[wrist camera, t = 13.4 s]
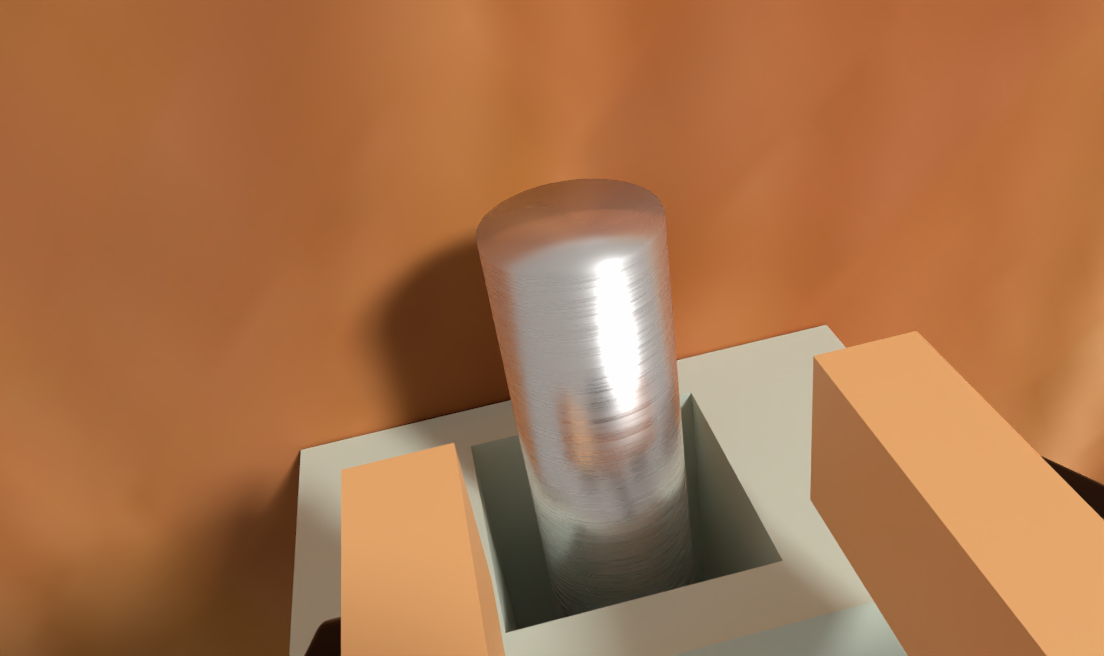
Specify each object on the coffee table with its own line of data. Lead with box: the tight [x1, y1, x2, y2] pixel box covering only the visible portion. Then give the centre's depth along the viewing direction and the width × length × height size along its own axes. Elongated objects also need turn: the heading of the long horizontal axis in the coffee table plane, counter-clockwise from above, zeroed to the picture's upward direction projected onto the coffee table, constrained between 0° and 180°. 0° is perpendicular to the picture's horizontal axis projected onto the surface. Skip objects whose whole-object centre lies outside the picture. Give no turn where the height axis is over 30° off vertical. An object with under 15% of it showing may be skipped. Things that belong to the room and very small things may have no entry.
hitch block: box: [289, 325, 908, 656], centre depth 16 cm, size 6×10×6 cm, turn 98°
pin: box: [476, 179, 695, 619], centre depth 15 cm, size 12×4×4 cm, turn 8°
